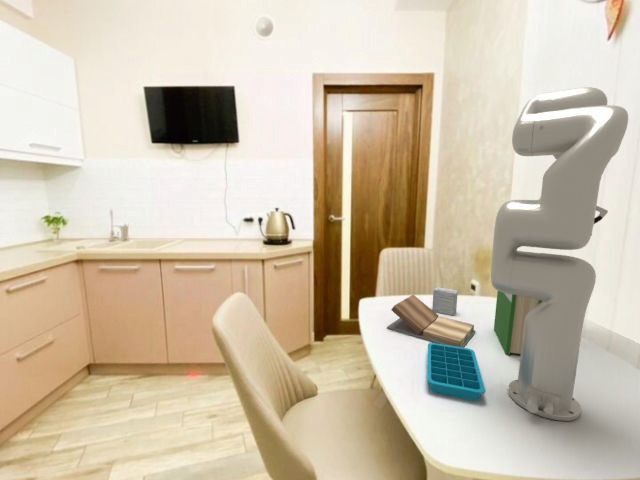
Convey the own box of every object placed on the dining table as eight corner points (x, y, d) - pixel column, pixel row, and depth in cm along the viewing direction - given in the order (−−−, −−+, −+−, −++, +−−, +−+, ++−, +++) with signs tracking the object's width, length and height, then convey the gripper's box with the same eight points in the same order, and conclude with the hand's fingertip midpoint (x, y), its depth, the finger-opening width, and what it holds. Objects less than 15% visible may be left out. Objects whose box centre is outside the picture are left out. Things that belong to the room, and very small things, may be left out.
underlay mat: (461, 351, 88) (461, 349, 88) (386, 328, 102) (386, 326, 102) (475, 332, 100) (475, 330, 100) (407, 314, 115) (407, 312, 115)
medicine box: (456, 312, 117) (458, 290, 116) (454, 316, 114) (456, 293, 112) (434, 308, 122) (436, 286, 120) (431, 311, 118) (433, 289, 117)
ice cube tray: (426, 394, 69) (427, 382, 69) (427, 352, 88) (427, 342, 88) (485, 406, 66) (486, 393, 65) (472, 359, 84) (473, 349, 84)
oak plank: (460, 348, 89) (460, 341, 88) (422, 336, 95) (423, 330, 95) (473, 330, 100) (474, 324, 100) (439, 321, 107) (440, 316, 107)
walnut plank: (418, 334, 96) (422, 330, 95) (391, 310, 101) (394, 305, 100) (435, 320, 108) (439, 315, 107) (410, 298, 113) (413, 294, 112)
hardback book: (537, 360, 84) (548, 272, 81) (505, 355, 86) (514, 269, 83) (519, 333, 101) (528, 259, 97) (493, 329, 103) (500, 257, 100)
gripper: (537, 180, 97) (531, 234, 100) (613, 179, 87) (604, 240, 89) (539, 181, 103) (534, 232, 106) (611, 180, 92) (602, 237, 95)
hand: (566, 236), depth 97 cm, fingers open, 9 cm apart
